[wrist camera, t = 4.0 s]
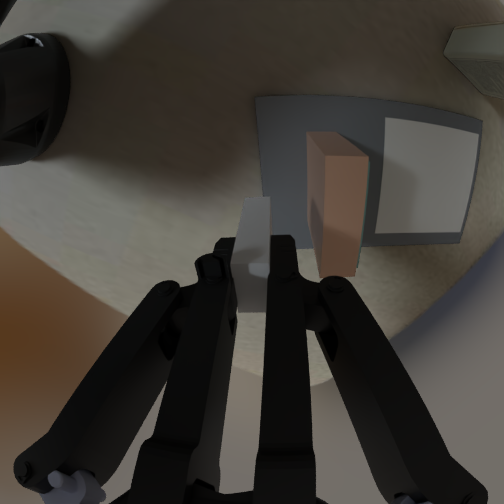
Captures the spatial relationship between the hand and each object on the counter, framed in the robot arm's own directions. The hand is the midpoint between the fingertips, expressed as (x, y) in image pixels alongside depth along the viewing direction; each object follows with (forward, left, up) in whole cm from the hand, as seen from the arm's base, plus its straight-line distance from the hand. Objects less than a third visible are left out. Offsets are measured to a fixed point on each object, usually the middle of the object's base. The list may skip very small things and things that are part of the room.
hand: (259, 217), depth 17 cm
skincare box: (+20, +13, -8) cm, 25 cm away
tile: (+5, 0, -7) cm, 9 cm away
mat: (+11, 0, -7) cm, 13 cm away
